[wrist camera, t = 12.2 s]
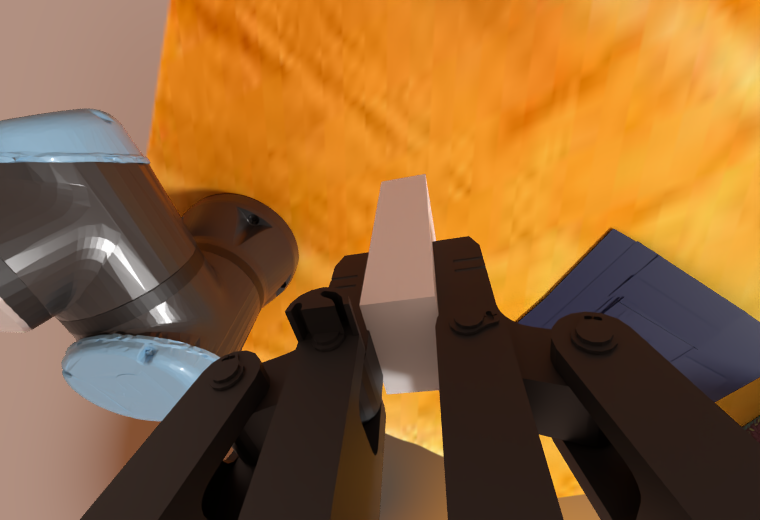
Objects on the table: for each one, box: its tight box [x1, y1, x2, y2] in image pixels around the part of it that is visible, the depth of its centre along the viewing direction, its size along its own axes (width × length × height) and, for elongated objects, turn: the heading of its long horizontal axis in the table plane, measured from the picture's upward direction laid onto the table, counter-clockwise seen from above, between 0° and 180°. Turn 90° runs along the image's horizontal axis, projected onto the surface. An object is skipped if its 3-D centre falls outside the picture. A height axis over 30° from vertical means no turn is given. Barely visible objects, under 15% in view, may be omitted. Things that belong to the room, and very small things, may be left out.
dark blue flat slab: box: [518, 229, 760, 402], centre depth 53 cm, size 24×30×4 cm
